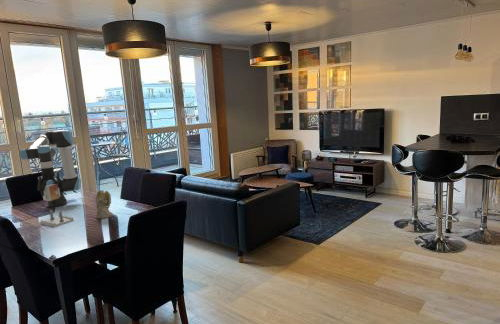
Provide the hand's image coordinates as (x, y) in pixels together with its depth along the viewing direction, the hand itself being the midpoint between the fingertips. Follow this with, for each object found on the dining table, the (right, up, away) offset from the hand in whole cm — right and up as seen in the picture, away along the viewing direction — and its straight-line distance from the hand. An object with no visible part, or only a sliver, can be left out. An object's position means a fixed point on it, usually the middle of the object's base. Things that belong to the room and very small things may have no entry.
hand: (52, 198), depth 245 cm
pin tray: (+2, -18, +3) cm, 18 cm away
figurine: (+34, -15, +9) cm, 38 cm away
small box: (0, -1, 0) cm, 1 cm away
